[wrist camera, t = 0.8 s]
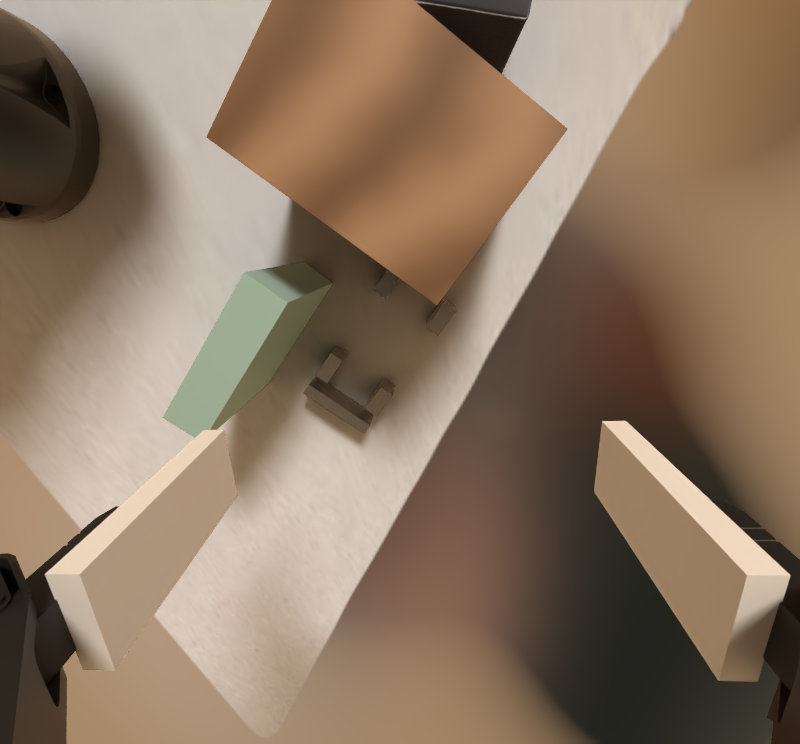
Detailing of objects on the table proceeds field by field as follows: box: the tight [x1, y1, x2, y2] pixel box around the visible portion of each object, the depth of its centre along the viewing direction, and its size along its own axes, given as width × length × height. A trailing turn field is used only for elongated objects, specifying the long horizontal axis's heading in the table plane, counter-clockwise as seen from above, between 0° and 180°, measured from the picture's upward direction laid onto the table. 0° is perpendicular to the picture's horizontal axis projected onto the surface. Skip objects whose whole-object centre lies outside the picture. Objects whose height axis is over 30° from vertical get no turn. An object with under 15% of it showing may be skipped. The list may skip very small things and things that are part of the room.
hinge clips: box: [304, 269, 456, 433], centre depth 36 cm, size 6×14×2 cm, turn 145°
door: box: [163, 262, 333, 438], centre depth 32 cm, size 3×12×12 cm, turn 145°
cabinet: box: [207, 0, 567, 305], centre depth 26 cm, size 14×10×14 cm
